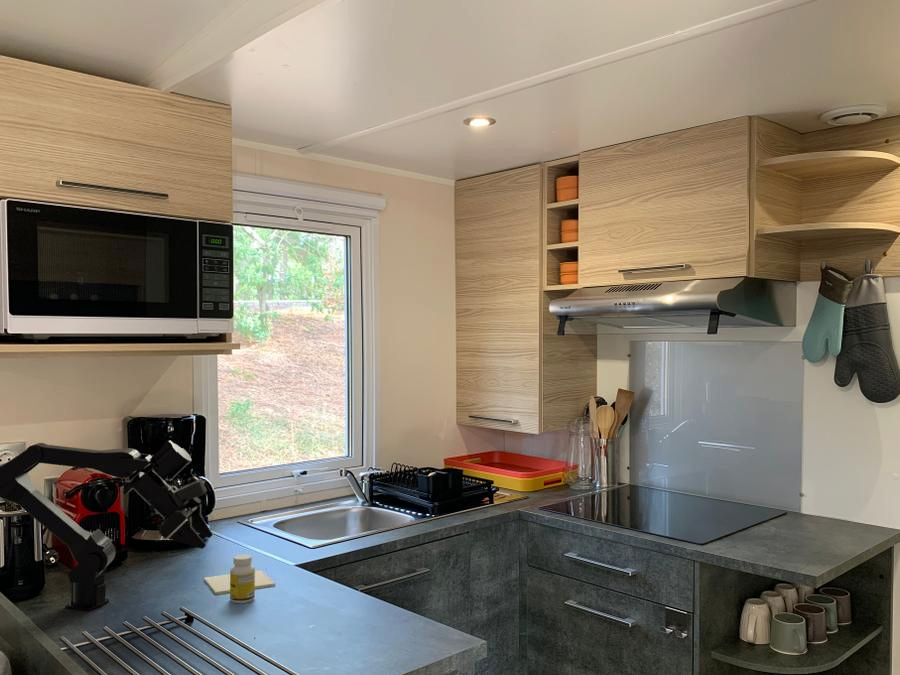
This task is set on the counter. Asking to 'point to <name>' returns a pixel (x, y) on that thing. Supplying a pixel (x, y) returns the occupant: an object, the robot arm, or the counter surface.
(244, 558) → the supplement bottle
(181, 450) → the robot arm
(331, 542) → the counter surface
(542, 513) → the counter surface
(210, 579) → the rubber mat
